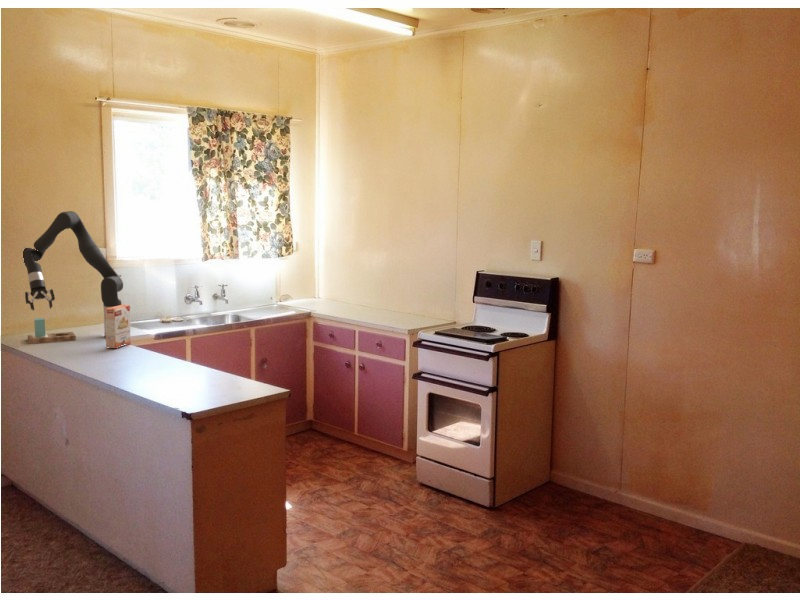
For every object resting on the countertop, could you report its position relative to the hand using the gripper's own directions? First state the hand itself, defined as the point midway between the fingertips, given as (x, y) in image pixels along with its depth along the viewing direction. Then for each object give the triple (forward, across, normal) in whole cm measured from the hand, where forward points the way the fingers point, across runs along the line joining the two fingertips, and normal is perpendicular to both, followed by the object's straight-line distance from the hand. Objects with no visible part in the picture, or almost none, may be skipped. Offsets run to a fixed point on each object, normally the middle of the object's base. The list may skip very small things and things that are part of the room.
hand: (42, 308), depth 395 cm
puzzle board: (+21, +1, -6) cm, 22 cm away
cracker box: (+37, +28, -30) cm, 56 cm away
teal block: (+18, -4, -7) cm, 19 cm away
